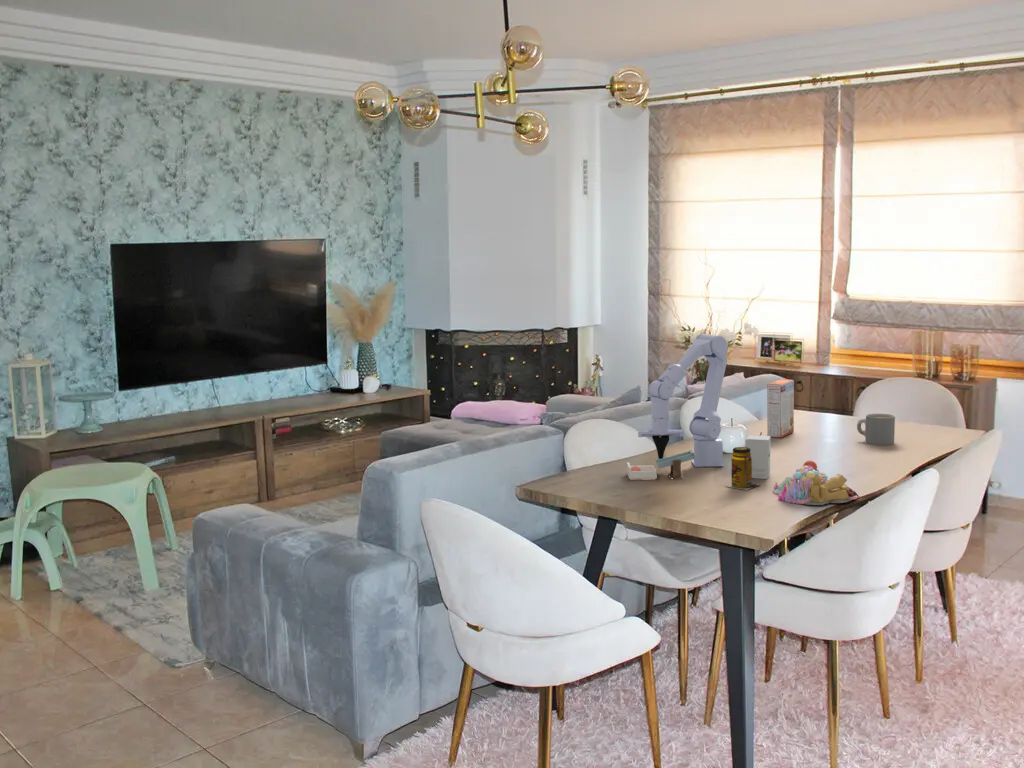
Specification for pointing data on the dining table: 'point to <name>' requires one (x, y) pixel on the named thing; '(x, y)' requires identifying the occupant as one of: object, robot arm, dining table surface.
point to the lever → (669, 460)
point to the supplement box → (759, 455)
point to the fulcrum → (676, 470)
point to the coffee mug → (878, 429)
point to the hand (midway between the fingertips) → (660, 458)
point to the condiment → (742, 469)
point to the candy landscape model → (814, 487)
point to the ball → (635, 468)
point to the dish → (642, 472)
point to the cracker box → (780, 408)
